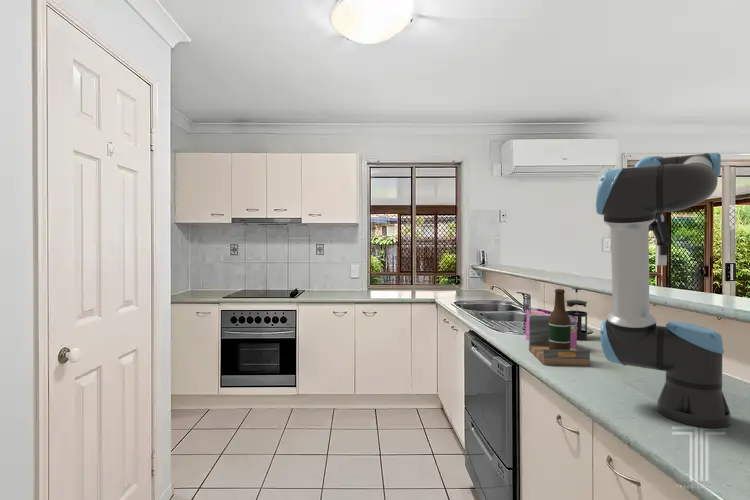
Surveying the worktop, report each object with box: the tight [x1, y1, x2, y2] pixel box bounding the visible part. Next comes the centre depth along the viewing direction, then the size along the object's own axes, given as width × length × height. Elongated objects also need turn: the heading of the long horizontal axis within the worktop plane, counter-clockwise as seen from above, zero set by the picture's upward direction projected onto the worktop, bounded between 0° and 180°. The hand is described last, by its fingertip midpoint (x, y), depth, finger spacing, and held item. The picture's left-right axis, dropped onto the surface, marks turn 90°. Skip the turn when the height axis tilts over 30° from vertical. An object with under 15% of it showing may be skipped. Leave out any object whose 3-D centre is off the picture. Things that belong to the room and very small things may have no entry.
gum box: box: [525, 308, 578, 350], centre depth 185 cm, size 24×8×14 cm, turn 19°
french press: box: [565, 287, 588, 342], centre depth 195 cm, size 12×9×23 cm
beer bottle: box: [549, 288, 570, 350], centre depth 161 cm, size 8×8×24 cm
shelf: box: [528, 315, 591, 367], centre depth 163 cm, size 20×16×14 cm
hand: (650, 264), depth 147 cm, fingers open, 13 cm apart
